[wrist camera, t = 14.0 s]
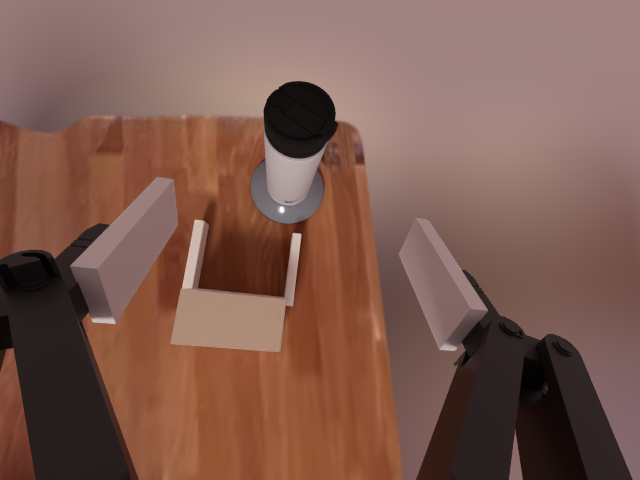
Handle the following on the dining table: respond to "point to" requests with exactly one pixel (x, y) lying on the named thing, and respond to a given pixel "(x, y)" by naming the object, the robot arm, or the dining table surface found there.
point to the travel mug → (295, 139)
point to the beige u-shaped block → (230, 307)
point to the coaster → (279, 212)
